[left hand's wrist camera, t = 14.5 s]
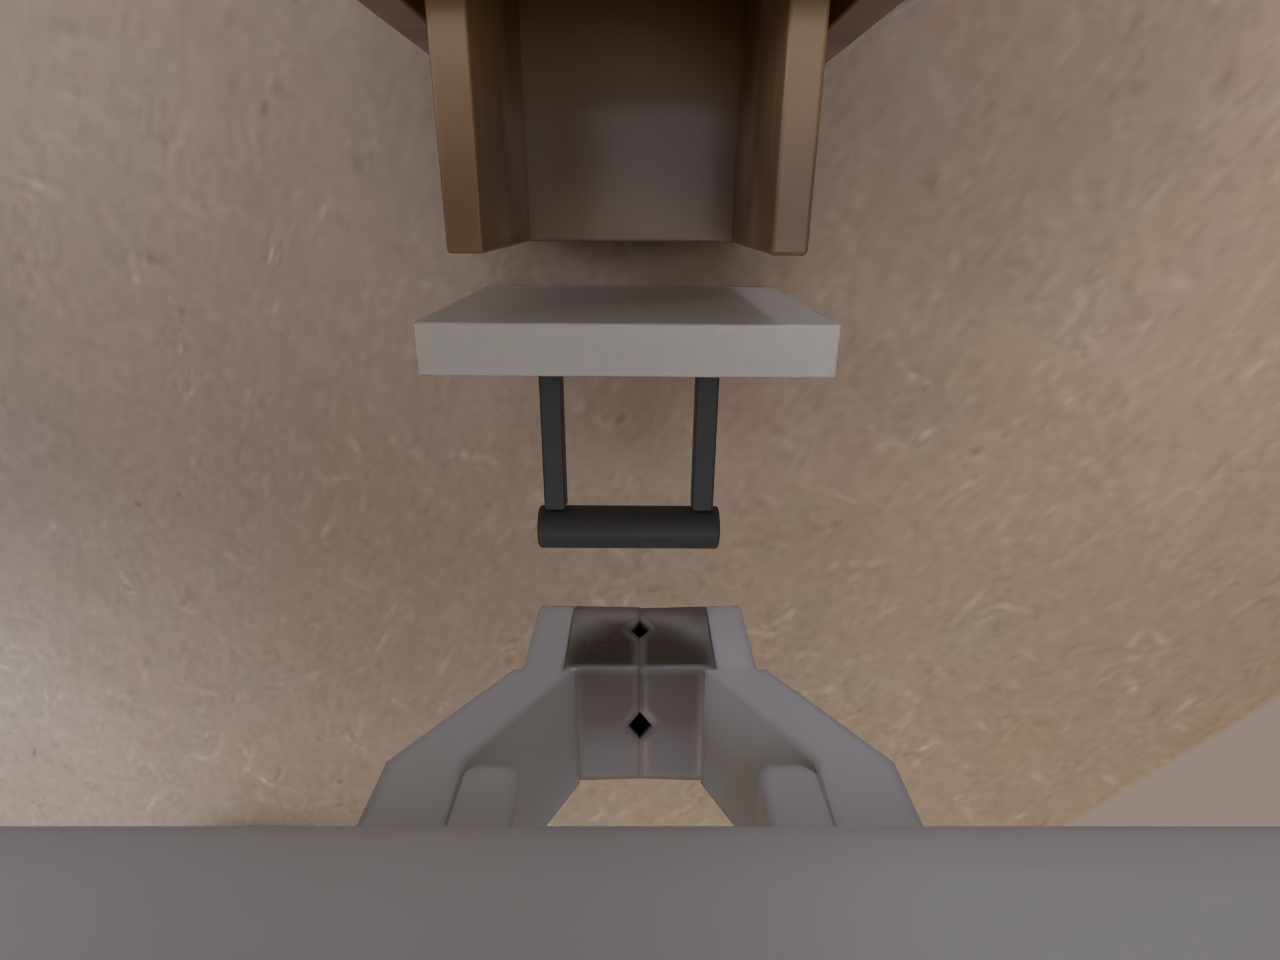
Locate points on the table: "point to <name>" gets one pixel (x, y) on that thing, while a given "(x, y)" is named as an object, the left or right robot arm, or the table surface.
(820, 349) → the drawer
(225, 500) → the table surface
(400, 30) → the cabinet
